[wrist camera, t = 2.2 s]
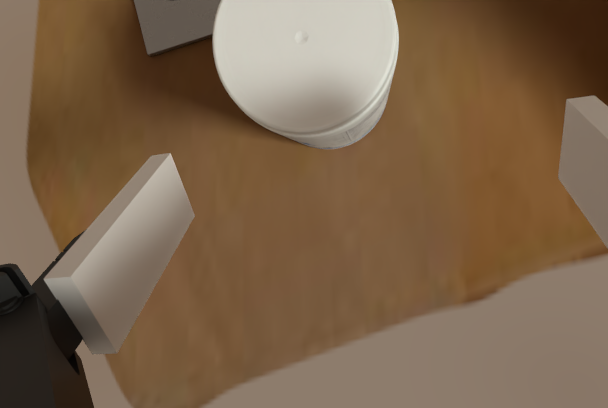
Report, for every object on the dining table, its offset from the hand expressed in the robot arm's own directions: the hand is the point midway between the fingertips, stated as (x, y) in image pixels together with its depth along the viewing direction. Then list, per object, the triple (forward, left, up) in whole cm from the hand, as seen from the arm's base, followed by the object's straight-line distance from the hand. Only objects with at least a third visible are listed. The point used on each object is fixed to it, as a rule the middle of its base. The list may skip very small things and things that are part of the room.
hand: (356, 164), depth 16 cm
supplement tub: (+2, -7, -22) cm, 23 cm away
